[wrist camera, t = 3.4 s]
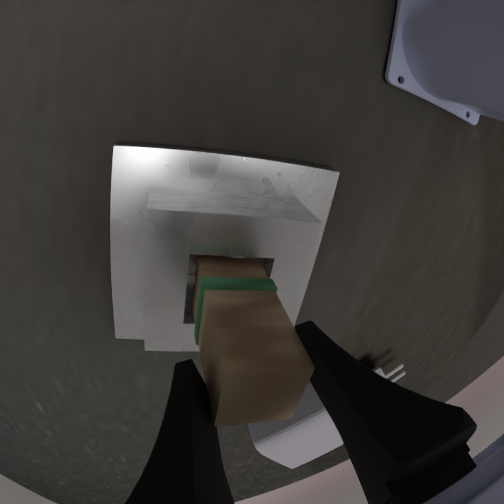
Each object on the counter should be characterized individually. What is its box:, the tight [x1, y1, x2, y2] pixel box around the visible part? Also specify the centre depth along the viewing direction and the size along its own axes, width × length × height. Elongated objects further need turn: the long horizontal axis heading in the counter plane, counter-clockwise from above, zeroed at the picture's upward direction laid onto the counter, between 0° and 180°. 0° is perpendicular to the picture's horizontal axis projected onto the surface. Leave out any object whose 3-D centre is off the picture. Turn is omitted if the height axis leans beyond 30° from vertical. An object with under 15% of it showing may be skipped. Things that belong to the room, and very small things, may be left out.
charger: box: [248, 363, 405, 469], centre depth 28 cm, size 5×9×15 cm
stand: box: [110, 142, 340, 351], centre depth 17 cm, size 12×12×4 cm
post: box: [192, 256, 315, 426], centre depth 13 cm, size 3×3×7 cm
